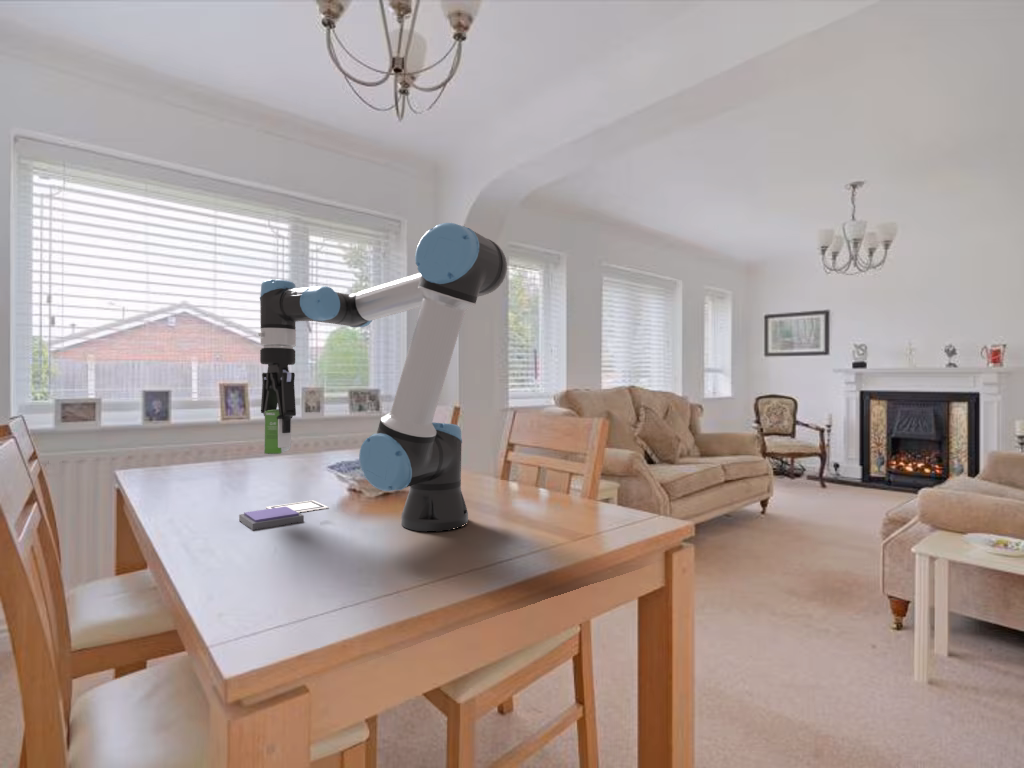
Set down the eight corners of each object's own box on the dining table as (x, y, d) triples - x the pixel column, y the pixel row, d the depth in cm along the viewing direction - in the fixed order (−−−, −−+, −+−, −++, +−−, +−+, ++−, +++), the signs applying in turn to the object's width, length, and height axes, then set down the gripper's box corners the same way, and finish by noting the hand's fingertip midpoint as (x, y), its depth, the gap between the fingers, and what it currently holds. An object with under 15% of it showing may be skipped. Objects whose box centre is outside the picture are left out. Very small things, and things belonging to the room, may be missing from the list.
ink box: (273, 450, 130) (273, 394, 130) (290, 450, 130) (291, 394, 130) (263, 454, 123) (263, 395, 123) (281, 454, 124) (282, 395, 123)
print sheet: (328, 508, 137) (328, 506, 137) (279, 516, 129) (279, 514, 129) (313, 501, 145) (313, 499, 145) (265, 508, 137) (266, 506, 137)
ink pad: (303, 521, 124) (303, 513, 124) (252, 530, 117) (252, 521, 117) (288, 513, 132) (288, 505, 132) (239, 520, 125) (239, 512, 125)
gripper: (246, 348, 131) (245, 442, 132) (278, 345, 116) (277, 451, 117) (277, 349, 137) (277, 440, 137) (312, 346, 122) (311, 448, 122)
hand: (277, 445), depth 127 cm, fingers closed on ink box, 8 cm apart
